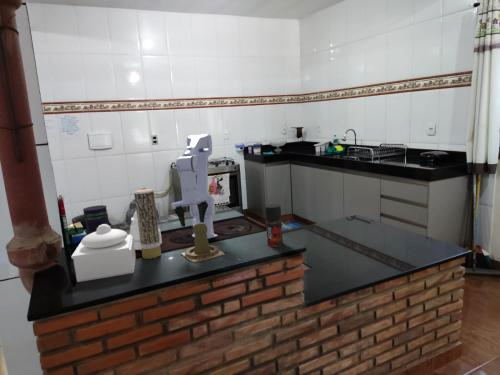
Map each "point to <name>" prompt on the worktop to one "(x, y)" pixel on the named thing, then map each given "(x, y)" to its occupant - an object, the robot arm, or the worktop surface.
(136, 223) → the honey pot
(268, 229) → the deodorant
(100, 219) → the storage jar
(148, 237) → the wooden log
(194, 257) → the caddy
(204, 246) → the khaki cylinder
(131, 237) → the butter dish
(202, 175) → the robot arm
